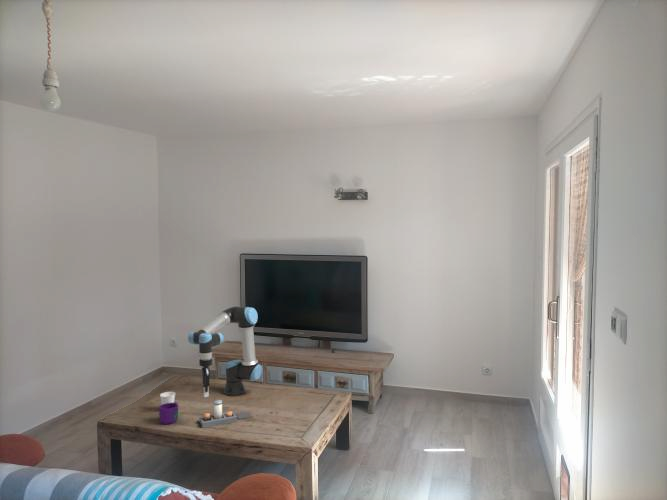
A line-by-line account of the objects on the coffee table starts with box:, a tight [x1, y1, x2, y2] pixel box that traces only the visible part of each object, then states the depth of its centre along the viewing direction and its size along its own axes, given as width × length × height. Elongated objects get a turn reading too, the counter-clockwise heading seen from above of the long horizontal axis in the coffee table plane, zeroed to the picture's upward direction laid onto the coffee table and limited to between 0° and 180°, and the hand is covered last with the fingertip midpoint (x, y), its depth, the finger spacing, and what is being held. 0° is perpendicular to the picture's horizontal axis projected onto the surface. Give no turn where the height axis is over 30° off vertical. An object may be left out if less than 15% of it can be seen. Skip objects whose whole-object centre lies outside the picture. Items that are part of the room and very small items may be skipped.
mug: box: [158, 401, 179, 425], centre depth 306 cm, size 17×11×10 cm, turn 171°
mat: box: [234, 411, 254, 420], centre depth 311 cm, size 9×9×1 cm
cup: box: [159, 391, 176, 405], centre depth 321 cm, size 10×10×11 cm
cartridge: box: [213, 399, 223, 420], centre depth 301 cm, size 5×5×12 cm
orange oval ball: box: [225, 410, 233, 417], centre depth 305 cm, size 4×4×3 cm
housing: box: [198, 410, 238, 429], centre depth 302 cm, size 21×11×3 cm, turn 116°
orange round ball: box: [203, 412, 211, 420], centre depth 298 cm, size 4×4×3 cm
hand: (206, 396), depth 298 cm, fingers closed
